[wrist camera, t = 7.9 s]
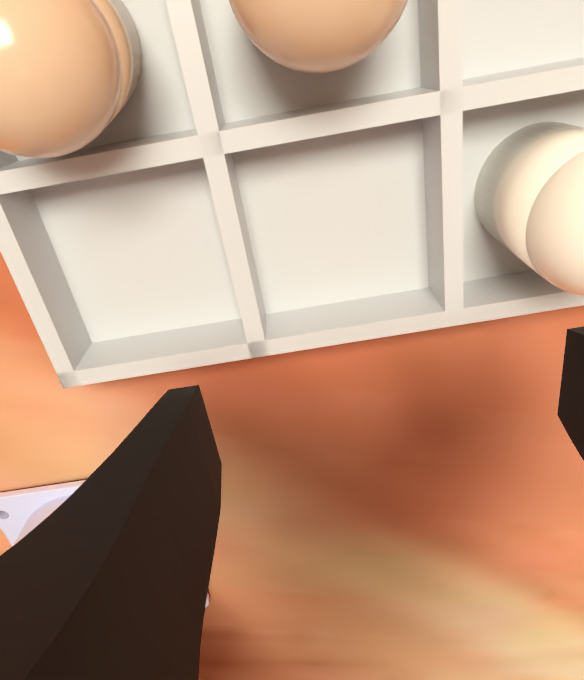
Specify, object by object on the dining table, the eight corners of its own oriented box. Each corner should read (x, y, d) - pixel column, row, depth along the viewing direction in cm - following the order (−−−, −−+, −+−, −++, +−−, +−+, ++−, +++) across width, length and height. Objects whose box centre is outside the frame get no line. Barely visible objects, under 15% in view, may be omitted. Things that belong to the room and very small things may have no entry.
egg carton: (621, 264, 19) (666, 291, 17) (86, 352, 20) (63, 388, 18) (703, -271, 12) (795, -341, 10) (-102, -99, 13) (-175, -130, 11)
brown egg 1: (166, 93, 15) (144, 135, 10) (46, 144, 16) (-30, 208, 11) (93, -68, 13) (22, -111, 8) (-44, -5, 14) (-193, -10, 9)
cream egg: (589, 234, 18) (721, 308, 13) (473, 254, 18) (555, 334, 13) (604, 110, 16) (766, 137, 11) (474, 133, 16) (571, 170, 11)
